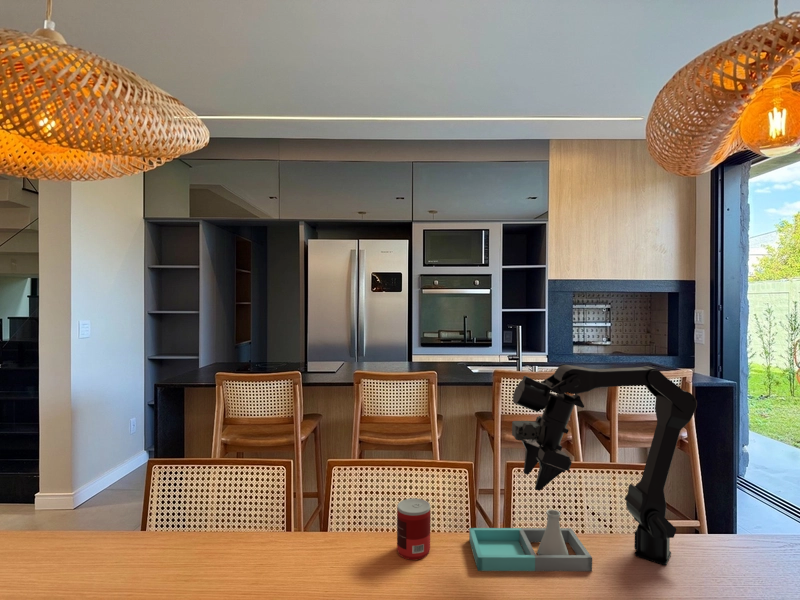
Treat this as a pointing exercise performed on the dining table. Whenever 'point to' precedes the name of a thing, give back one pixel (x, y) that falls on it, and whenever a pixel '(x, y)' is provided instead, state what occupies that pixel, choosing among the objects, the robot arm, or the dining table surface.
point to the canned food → (413, 528)
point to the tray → (524, 551)
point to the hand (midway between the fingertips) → (531, 481)
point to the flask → (552, 536)
